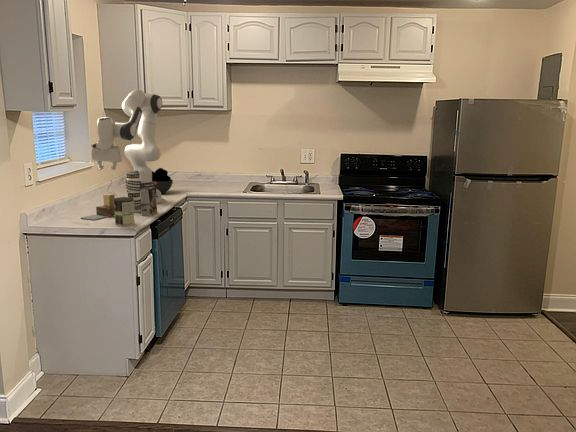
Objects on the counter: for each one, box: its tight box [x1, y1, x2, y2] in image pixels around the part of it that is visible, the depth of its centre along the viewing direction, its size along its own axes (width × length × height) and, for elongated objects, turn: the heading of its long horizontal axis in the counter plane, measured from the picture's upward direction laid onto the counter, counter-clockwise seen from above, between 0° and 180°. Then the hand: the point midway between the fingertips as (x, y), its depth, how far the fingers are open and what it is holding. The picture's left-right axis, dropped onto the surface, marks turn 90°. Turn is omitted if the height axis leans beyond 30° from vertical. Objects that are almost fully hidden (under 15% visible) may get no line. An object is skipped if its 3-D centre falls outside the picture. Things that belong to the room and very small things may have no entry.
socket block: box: [95, 204, 115, 218], centre depth 302 cm, size 11×11×5 cm
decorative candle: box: [125, 169, 141, 213], centre depth 312 cm, size 9×9×25 cm
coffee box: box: [140, 187, 158, 217], centre depth 303 cm, size 9×6×16 cm
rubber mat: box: [80, 214, 108, 222], centre depth 292 cm, size 10×10×1 cm
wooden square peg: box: [103, 193, 116, 207], centre depth 301 cm, size 4×4×12 cm
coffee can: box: [114, 196, 136, 227], centre depth 277 cm, size 10×10×14 cm
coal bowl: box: [151, 167, 174, 194], centre depth 377 cm, size 20×20×19 cm
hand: (107, 169), depth 297 cm, fingers open, 8 cm apart
